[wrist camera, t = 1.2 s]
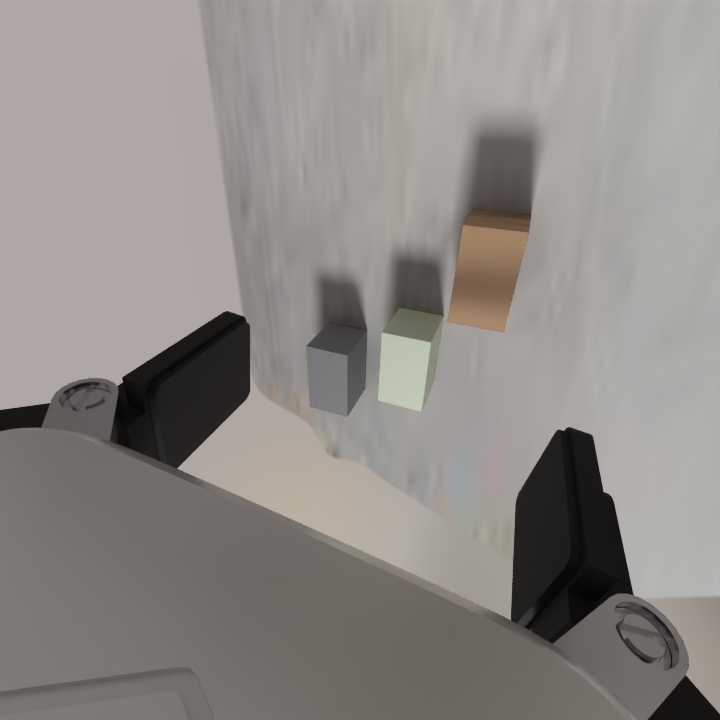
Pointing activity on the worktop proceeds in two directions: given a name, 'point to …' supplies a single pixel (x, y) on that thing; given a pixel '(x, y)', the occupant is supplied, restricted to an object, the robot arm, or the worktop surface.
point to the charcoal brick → (337, 368)
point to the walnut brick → (488, 268)
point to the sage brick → (409, 358)
